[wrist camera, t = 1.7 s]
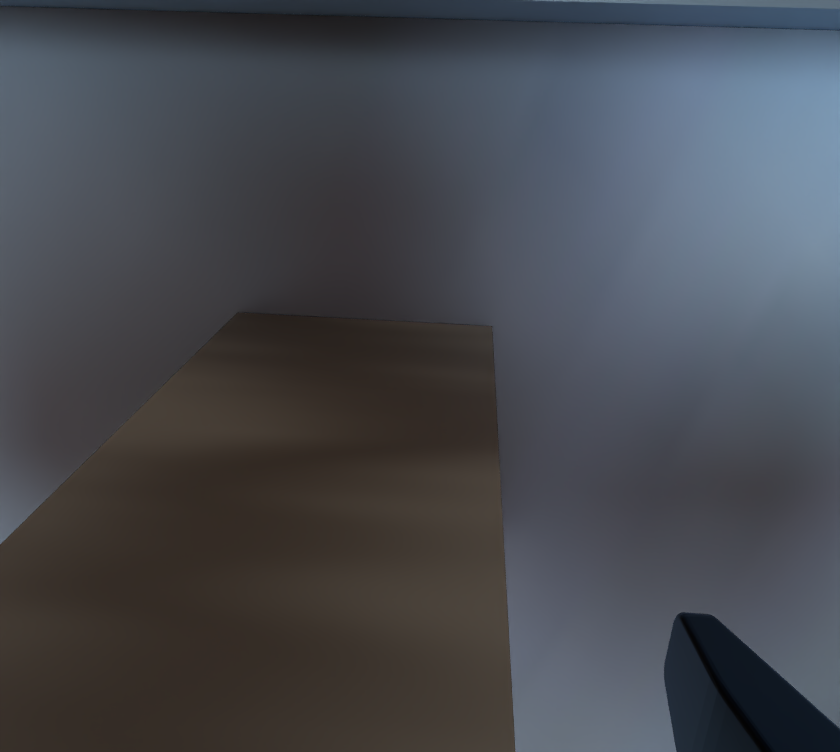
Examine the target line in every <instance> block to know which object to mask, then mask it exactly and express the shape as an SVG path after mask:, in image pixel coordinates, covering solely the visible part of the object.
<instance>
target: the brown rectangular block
mask: <svg viewBox="0 0 840 752" xmlns="http://www.w3.org/2000/svg"><path fill="white" fill-rule="evenodd" d="M0 752H515V737H514V719H513V701H512V682H511V664H510V645H509V627H508V609H507V590H506V572H505V553H504V535H503V517H502V498H501V480H500V461H499V443H498V424H497V406H496V388H495V369H494V351H493V332H492V326H480V325H461V324H443V323H424V322H406V321H387V320H369V319H350V318H332V317H313V316H295V315H276V314H258V313H239V312H238V313H237V314H236V315H235V316H234V317H233V318H232V319H231V320H230V321H229V322H228V323H227V324H226V325H224V326H223V327H222V328H221V329H220V330H219V331H218V332H217V333H216V334H215V335H214V336H213V337H212V338H211V339H210V340H209V341H208V342H207V343H206V344H205V345H204V346H203V347H202V348H201V349H200V350H199V351H198V352H197V353H196V354H195V355H194V356H193V357H192V358H191V359H190V360H189V361H188V362H187V363H186V364H185V365H184V366H183V367H182V368H180V369H179V370H178V371H177V372H176V373H175V374H174V375H173V376H172V377H171V378H170V379H169V380H168V381H167V382H166V383H165V384H164V385H163V386H162V387H161V388H160V389H159V390H158V391H157V392H156V393H155V394H154V395H153V396H152V397H151V398H150V399H149V400H148V401H147V402H146V403H145V404H144V405H143V406H142V407H141V408H140V409H139V410H138V411H136V412H135V413H134V414H133V415H132V416H131V417H130V418H129V419H128V420H127V421H126V422H125V423H124V424H123V425H122V426H121V427H120V428H119V429H118V430H117V431H116V432H115V433H114V434H113V435H112V436H111V437H110V438H109V439H108V440H107V441H106V442H105V443H104V444H103V445H102V446H101V447H100V448H99V449H98V450H97V451H96V452H95V453H94V454H93V455H91V456H90V457H89V458H88V459H87V460H86V461H85V462H84V463H83V464H82V465H81V466H80V467H79V468H78V469H77V470H76V471H75V472H74V473H73V474H72V475H71V476H70V477H69V478H68V479H67V480H66V481H65V482H64V483H63V484H62V485H61V486H60V487H59V488H58V489H57V490H56V491H55V492H54V493H53V494H52V495H51V496H50V497H49V498H47V499H46V500H45V501H44V502H43V503H42V504H41V505H40V506H39V507H38V508H37V509H36V510H35V511H34V512H33V513H32V514H31V515H30V516H29V517H28V518H27V519H26V520H25V521H24V522H23V523H22V524H21V525H20V526H19V527H18V528H17V529H16V530H15V531H14V532H13V533H12V534H11V535H10V536H9V537H8V538H7V539H6V540H5V541H3V542H2V543H1V544H0Z"/></svg>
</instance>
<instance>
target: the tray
mask: <svg viewBox="0 0 840 752" xmlns="http://www.w3.org/2000/svg"><path fill="white" fill-rule="evenodd" d="M0 6H19V7H53V8H88V9H122V10H157V11H191V12H226V13H260V14H295V15H329V16H364V17H398V18H433V19H467V20H502V21H536V22H571V23H605V24H640V25H674V26H709V27H743V28H778V29H813V30H840V0H0Z"/></svg>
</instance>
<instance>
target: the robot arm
mask: <svg viewBox="0 0 840 752" xmlns="http://www.w3.org/2000/svg"><path fill="white" fill-rule="evenodd" d="M664 680H665V687H666V693H667V699H668V705H669V711H670V716H671V722H672V728H673V734H674V740H675V745H676V751H677V752H840V728H838V727H837V726H836V725H835V724H834V723H833V722H832V721H831V720H829V719H828V718H827V717H826V716H825V715H824V714H823V713H822V712H821V711H819V710H818V709H817V708H816V707H815V706H814V705H813V704H812V703H810V702H809V701H808V700H807V699H806V698H805V697H804V696H803V695H802V694H800V693H799V692H798V691H797V690H796V689H795V688H794V687H793V686H791V685H790V684H789V683H788V682H787V681H786V680H785V679H784V678H783V677H781V676H780V675H779V674H778V673H777V672H776V671H775V670H774V669H772V668H771V667H770V666H769V665H768V664H767V663H766V662H765V661H764V660H762V659H761V658H760V657H759V656H758V655H757V654H756V653H755V652H753V651H752V650H751V649H750V648H749V647H748V646H747V645H746V644H745V643H743V642H742V641H741V640H740V639H739V638H738V637H737V636H736V635H734V634H733V633H732V632H731V631H730V630H729V629H728V628H727V627H726V626H724V625H723V624H722V623H721V622H720V621H719V620H718V619H716V618H715V617H714V616H712V615H708V614H698V613H685V612H682V613H680V614H678V615H677V616H676V618H675V620H674V622H673V627H672V631H671V636H670V641H669V645H668V650H667V655H666V659H665V665H664Z"/></svg>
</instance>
